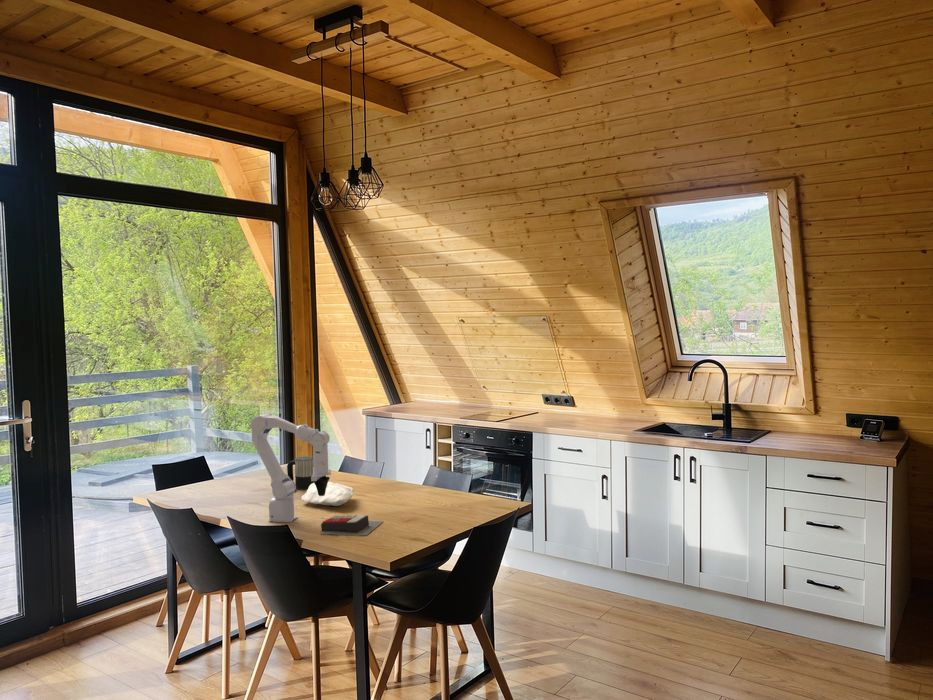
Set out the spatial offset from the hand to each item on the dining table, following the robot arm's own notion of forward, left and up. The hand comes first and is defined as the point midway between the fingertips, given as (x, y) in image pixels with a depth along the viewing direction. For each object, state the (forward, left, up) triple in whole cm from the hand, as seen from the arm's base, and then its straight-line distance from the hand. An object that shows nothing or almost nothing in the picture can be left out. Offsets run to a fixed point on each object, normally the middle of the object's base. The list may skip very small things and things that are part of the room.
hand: (321, 495), depth 298 cm
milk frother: (-36, +55, -11) cm, 67 cm away
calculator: (+6, -10, -9) cm, 14 cm away
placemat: (+17, -9, -10) cm, 22 cm away
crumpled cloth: (-8, +30, -11) cm, 32 cm away
